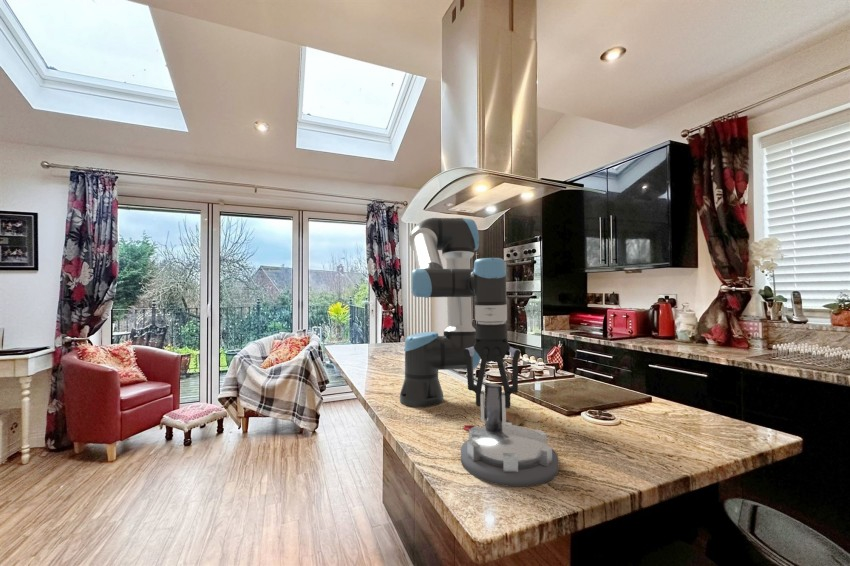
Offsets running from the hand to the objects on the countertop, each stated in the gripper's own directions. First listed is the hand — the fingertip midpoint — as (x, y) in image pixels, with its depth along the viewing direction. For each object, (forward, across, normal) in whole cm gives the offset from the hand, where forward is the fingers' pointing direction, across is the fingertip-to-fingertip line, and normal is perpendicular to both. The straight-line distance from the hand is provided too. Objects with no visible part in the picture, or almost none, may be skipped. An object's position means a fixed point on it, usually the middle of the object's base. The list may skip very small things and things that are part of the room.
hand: (493, 420), depth 85 cm
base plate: (+7, +3, -5) cm, 9 cm away
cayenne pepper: (+8, -6, +10) cm, 14 cm away
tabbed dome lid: (+5, +3, -5) cm, 8 cm away
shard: (+8, +5, +20) cm, 22 cm away
